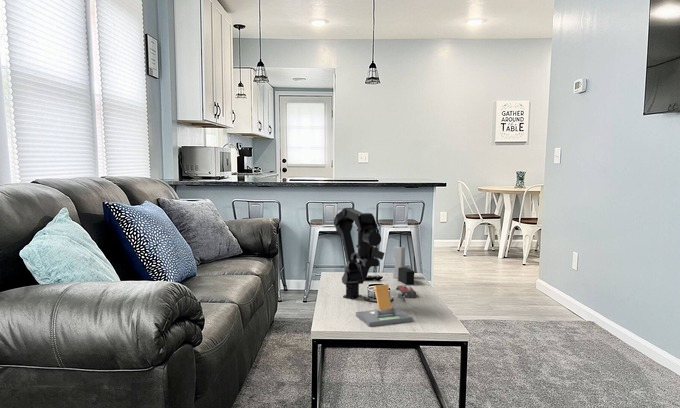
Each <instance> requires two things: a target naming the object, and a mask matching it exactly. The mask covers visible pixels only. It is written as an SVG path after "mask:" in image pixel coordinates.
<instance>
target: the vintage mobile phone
mask: <svg viewBox="0 0 680 408" xmlns="http://www.w3.org/2000/svg"><path fill="white" fill-rule="evenodd" d="M393 257H394V273H393V275H392V278H394V279H398V268H400V267H406V247H405V246H402V231H399V246H398V245H396V246H393Z"/></svg>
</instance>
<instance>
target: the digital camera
mask: <svg viewBox="0 0 680 408" xmlns="http://www.w3.org/2000/svg"><path fill="white" fill-rule="evenodd" d="M397 281H398V282H400V283H402V284H403V285H408V286H413V285H415V271H414V270H412V268H410V267H406V266H405V267H400V268H398V278H397Z"/></svg>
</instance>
